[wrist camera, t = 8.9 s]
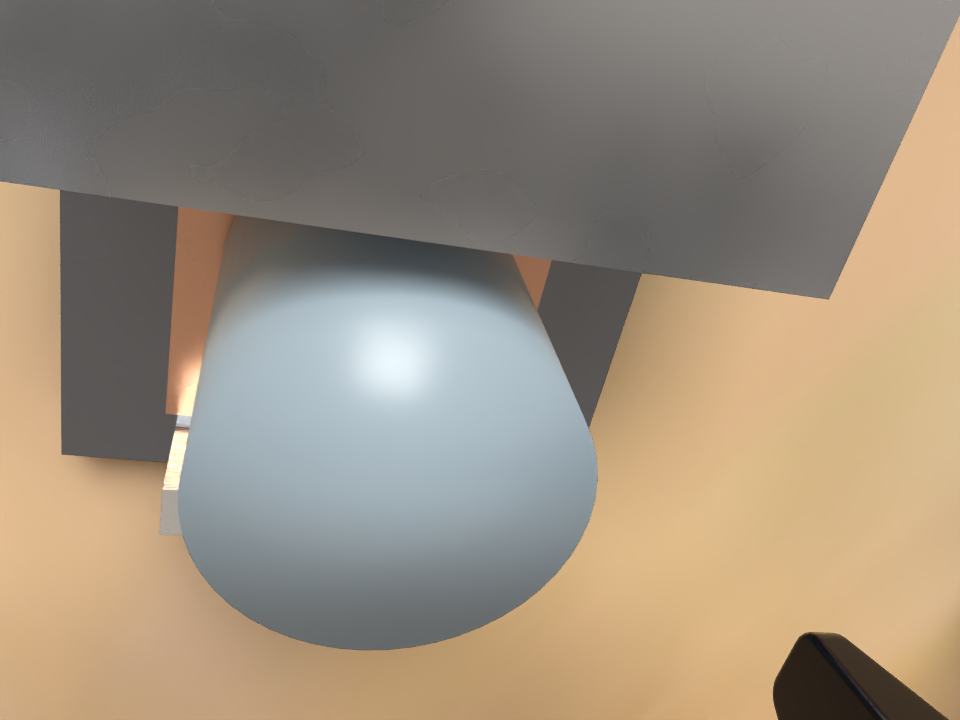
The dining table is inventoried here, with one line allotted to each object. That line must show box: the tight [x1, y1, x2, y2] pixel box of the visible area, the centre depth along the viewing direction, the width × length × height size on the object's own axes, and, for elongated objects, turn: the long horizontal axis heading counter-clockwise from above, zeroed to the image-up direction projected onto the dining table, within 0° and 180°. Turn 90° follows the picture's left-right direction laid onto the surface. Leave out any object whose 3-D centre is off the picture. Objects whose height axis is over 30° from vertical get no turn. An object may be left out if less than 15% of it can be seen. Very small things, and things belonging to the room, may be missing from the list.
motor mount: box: [0, 0, 960, 536], centre depth 13 cm, size 10×13×7 cm
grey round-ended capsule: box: [178, 215, 598, 650], centre depth 13 cm, size 5×5×6 cm
